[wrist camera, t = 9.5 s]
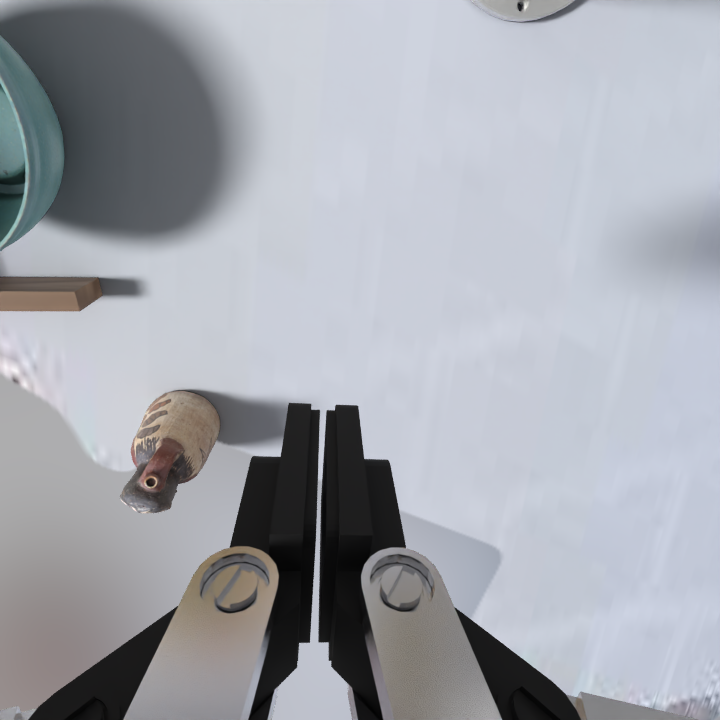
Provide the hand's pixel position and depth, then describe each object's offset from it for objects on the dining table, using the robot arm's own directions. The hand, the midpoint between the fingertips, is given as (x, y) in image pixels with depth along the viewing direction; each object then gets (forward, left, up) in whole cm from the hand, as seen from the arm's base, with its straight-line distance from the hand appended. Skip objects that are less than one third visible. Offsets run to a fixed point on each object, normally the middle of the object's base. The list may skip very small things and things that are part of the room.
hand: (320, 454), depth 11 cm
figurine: (+19, -14, -30) cm, 38 cm away
